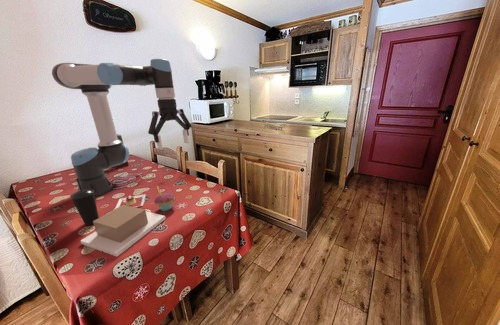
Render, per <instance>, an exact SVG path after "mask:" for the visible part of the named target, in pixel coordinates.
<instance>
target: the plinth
mask: <svg viewBox="0 0 500 325" xmlns="http://www.w3.org/2000/svg"><path fill="white" fill-rule="evenodd" d="M166 219H167V218H166V215H162V214H159V213H155V212H150V211H146V209H143V208H140V207H136V206H132V205H129V206H127V205H126V204H122V205H120V206H119V207H118V208H116V209H115V208H114V209H113V210H111V211H109V212H107V213H106V214H103V215H102V216H100V217H99V218H98V219H96V220H95V221H93V224H94V225H93V226H94V230H95V231H93V233H90V234H89V235H87V236H85V237H84V238H82V239H81V240H80V243H81V245H84V246H86V247H88V248H91V249H94V250H97V251H100V252H102V251H103V252H102V253H105V254H109V255H111V256H114V257H119V256H120V255H121V254H122V253H124V252H126V250H128V249H129V248H130V247H132V246H133V245H134V244H136V243H137V242H138V241H139V240H140V239H142V238H143V237H144V236H145V235H147V234H148V233H150V232H151V231H152V230H154V228H156V227H157V226H159V225H160V224H161V223H163V221H165V220H166Z"/></svg>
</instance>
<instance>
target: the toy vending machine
mask: <svg viewBox="0 0 500 325" xmlns="http://www.w3.org/2000/svg"><path fill="white" fill-rule="evenodd" d="M116 134H117V138H118V140H120V141H122V144H124V140H123V137H122V135H121V134H119V133H116ZM129 166H130V165H129V160H127V161H126V162H125V163H122V164H120V165H117V166H114V167H111V168H112V169H114V170H119V169H123V168H127V167H129Z"/></svg>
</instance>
